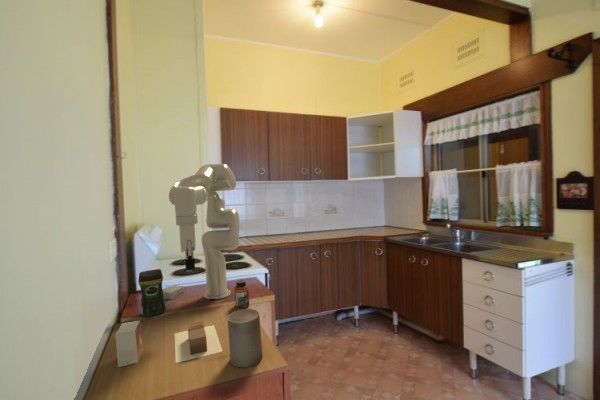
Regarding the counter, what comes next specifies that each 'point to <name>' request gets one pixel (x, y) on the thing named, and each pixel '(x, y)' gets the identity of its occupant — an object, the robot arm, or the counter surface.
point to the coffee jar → (151, 292)
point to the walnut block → (197, 338)
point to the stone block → (172, 291)
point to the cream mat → (184, 348)
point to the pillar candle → (244, 337)
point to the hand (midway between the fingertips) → (190, 268)
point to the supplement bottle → (241, 294)
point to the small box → (128, 343)
